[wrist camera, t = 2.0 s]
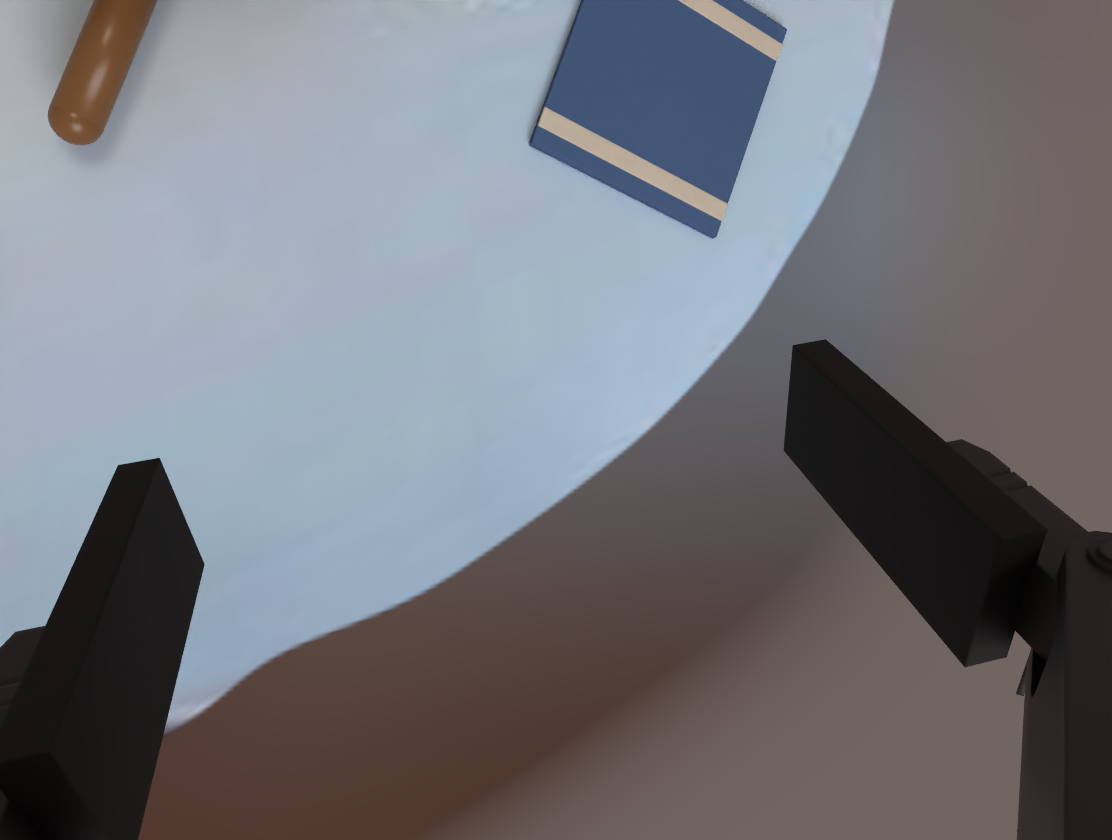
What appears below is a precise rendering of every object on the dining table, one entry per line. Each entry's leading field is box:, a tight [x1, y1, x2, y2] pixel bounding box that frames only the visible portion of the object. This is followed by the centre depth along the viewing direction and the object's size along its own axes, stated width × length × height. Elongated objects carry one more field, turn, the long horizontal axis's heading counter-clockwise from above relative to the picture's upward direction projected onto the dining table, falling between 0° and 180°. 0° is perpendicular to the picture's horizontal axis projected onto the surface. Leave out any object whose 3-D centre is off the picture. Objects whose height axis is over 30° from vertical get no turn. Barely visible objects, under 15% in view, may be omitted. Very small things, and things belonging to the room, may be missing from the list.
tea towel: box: [529, 0, 787, 238], centre depth 40 cm, size 11×12×1 cm
